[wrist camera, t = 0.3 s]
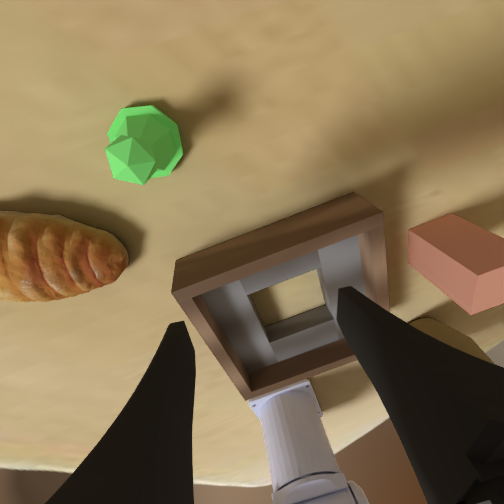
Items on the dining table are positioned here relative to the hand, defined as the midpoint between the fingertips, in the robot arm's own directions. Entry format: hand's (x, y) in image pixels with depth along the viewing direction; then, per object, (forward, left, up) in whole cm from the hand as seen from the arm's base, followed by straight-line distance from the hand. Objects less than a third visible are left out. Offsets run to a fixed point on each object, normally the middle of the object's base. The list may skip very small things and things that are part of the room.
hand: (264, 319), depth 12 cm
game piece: (+8, +3, -10) cm, 13 cm away
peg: (-8, -16, -10) cm, 20 cm away
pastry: (+4, +13, -10) cm, 17 cm away
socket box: (-8, -2, -10) cm, 13 cm away
